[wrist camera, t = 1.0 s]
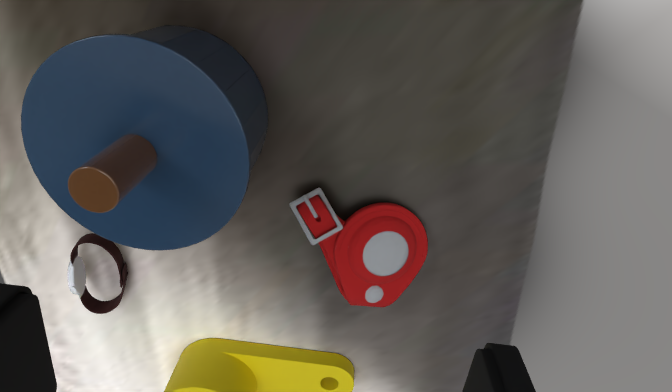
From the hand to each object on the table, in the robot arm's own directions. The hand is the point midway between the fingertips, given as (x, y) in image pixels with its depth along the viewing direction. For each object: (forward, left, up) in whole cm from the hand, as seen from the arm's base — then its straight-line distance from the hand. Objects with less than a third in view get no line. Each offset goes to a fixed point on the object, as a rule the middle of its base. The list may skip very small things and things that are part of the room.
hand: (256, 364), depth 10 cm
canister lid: (-4, -11, -19) cm, 22 cm away
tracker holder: (+12, -5, -27) cm, 30 cm away
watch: (+3, -27, -27) cm, 38 cm away
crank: (+21, -22, -27) cm, 41 cm away
